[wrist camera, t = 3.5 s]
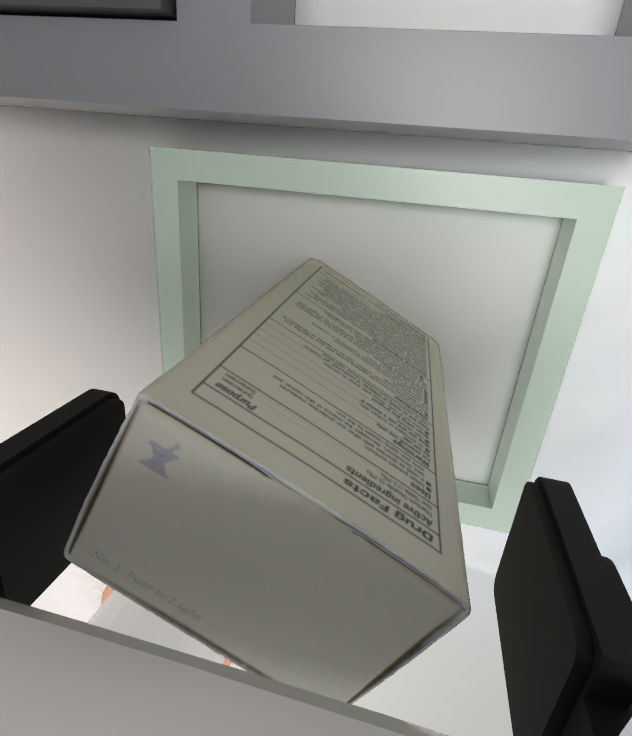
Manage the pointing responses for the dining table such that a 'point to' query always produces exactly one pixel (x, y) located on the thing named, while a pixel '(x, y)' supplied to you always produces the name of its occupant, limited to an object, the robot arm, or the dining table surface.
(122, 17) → the socket strip
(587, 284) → the tray
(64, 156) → the dining table surface
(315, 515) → the skincare box
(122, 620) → the salt shaker
